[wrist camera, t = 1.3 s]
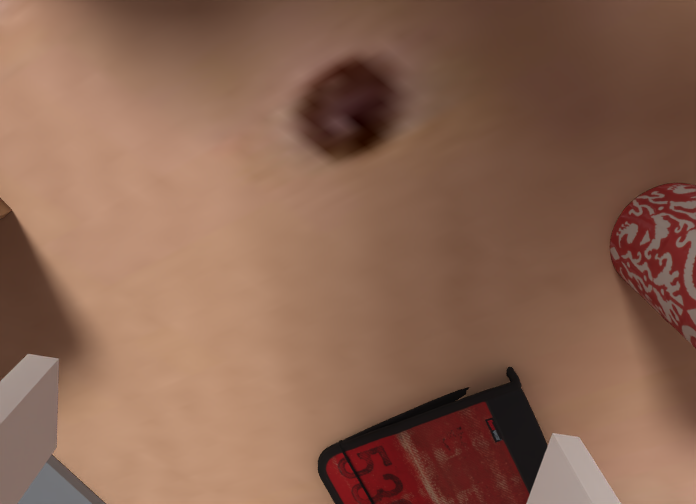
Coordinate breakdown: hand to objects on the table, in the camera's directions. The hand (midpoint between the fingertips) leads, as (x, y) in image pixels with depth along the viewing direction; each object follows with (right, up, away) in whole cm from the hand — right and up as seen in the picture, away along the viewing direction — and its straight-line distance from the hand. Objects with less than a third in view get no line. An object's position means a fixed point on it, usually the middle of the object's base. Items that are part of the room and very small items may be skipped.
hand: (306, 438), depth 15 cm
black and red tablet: (+10, -15, +29) cm, 34 cm away
